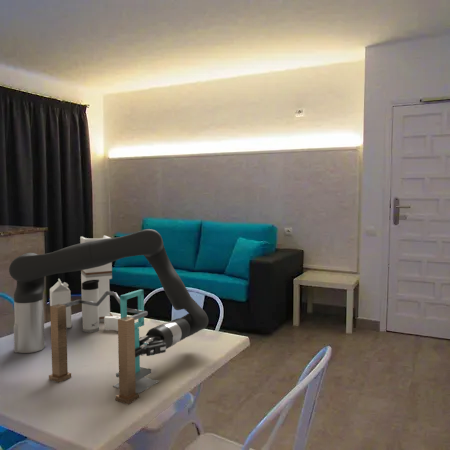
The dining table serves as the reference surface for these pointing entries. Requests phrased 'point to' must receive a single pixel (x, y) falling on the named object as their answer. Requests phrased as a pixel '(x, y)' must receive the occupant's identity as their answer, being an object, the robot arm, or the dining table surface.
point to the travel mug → (90, 306)
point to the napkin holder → (111, 322)
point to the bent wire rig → (124, 347)
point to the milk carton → (61, 298)
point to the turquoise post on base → (139, 371)
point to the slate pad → (142, 384)
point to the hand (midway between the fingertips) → (126, 354)
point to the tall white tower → (103, 276)
